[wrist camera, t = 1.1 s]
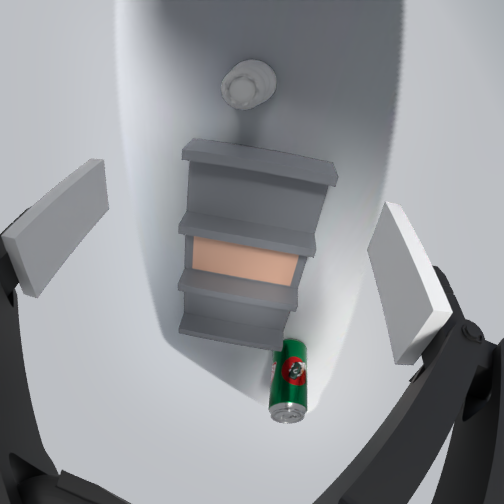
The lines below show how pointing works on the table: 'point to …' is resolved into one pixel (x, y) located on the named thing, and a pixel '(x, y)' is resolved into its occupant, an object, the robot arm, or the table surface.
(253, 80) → the rook chess piece
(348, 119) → the table surface
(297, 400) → the soda can
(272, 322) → the stepped slat stand
